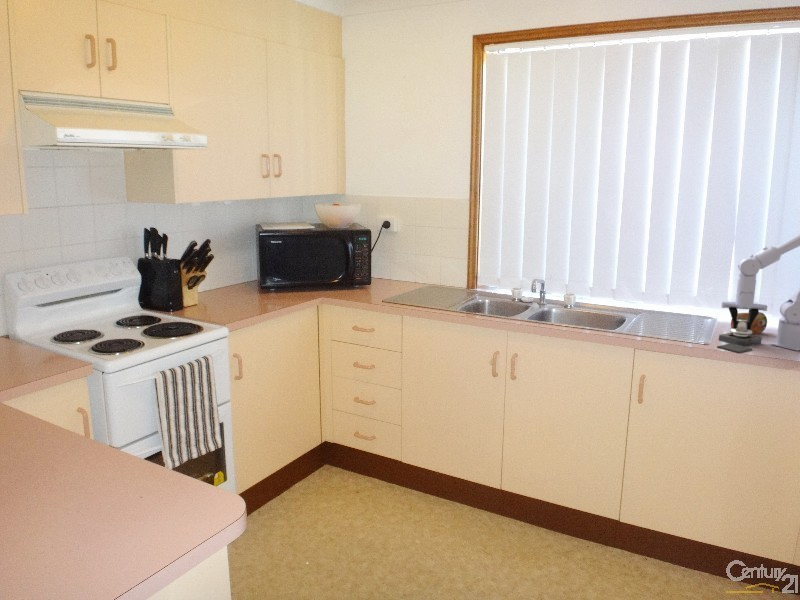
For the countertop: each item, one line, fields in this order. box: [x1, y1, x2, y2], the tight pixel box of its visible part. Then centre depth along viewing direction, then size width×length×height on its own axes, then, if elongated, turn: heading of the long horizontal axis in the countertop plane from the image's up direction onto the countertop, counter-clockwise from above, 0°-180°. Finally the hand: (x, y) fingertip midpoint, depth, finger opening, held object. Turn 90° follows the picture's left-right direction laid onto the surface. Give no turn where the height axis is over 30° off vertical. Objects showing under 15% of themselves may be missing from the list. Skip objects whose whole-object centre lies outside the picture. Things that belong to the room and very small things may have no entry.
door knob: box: [729, 320, 753, 339], centre depth 236 cm, size 7×7×6 cm
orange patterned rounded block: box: [730, 311, 768, 335], centre depth 248 cm, size 15×3×8 cm, turn 105°
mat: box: [716, 343, 753, 354], centre depth 227 cm, size 8×8×1 cm
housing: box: [718, 332, 763, 347], centre depth 237 cm, size 10×10×2 cm
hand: (741, 328), depth 236 cm, fingers closed on door knob, 4 cm apart
